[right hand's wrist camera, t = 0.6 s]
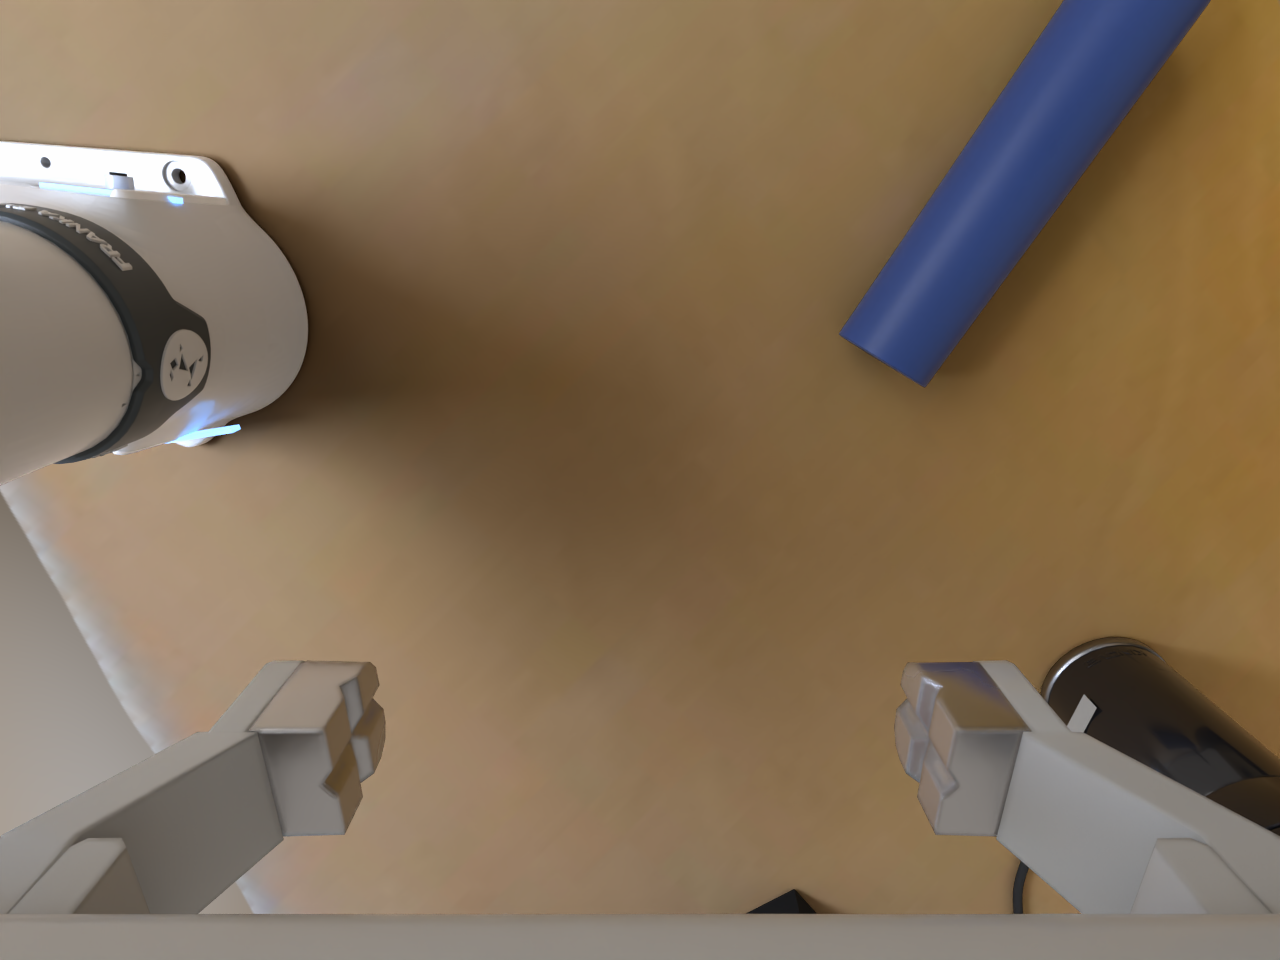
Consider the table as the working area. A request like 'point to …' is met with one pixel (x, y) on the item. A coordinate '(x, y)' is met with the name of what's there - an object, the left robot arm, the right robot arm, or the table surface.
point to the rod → (1014, 176)
